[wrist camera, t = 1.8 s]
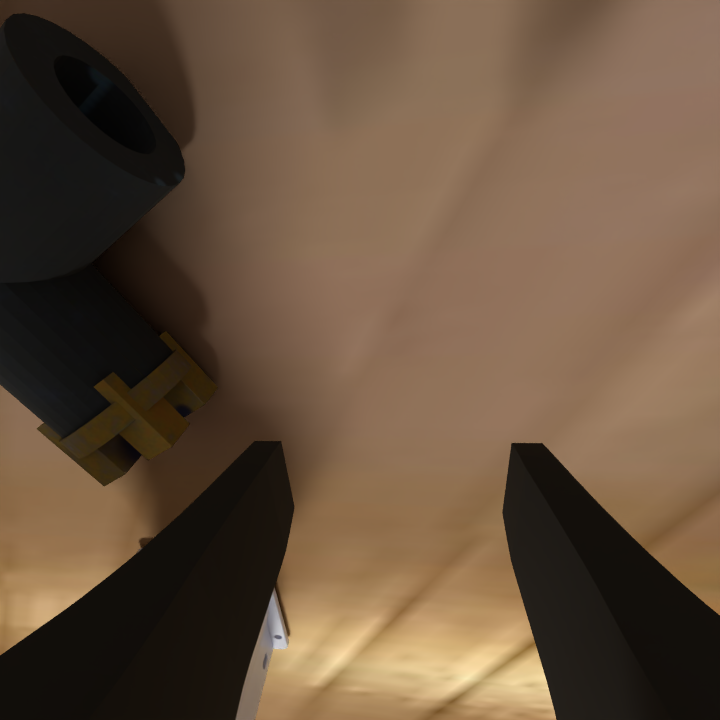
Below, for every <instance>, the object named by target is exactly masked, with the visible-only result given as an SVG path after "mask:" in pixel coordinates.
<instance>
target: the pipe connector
mask: <svg viewBox="0 0 720 720" xmlns="http://www.w3.org/2000/svg"><path fill="white" fill-rule="evenodd" d="M184 173H185V166H184V160H183V157H182V154H181V151H180V149H179V147H178V144H177V142H176V141H175V139H174V138H173V137H172V135H171V134H170V133H169V132H168V130H167V129H166V128H165V126H164V125H163V124H162V123H161V121H160V120H159V119H158V117H157V116H156V115H155V114H154V112H153V111H152V110H151V108H150V107H149V106H148V105H147V103H146V102H145V101H144V99H143V98H142V97H141V96H140V94H139V93H138V92H137V90H136V89H135V88H134V87H133V85H132V84H131V83H130V81H129V80H128V79H127V78H126V77H125V76H124V75H123V74H122V73H121V72H120V71H119V70H118V69H117V68H116V67H115V66H114V65H112V64H111V63H110V62H109V61H108V60H107V59H106V58H104V57H103V56H102V55H101V54H100V53H98V52H97V51H96V50H94V49H93V48H92V47H91V46H89V45H88V44H87V43H85V42H84V41H82V40H81V39H79V38H78V37H76V36H75V35H73V34H72V33H70V32H69V31H67V30H65V29H63V28H62V27H60V26H58V25H56V24H54V23H52V22H50V21H48V20H45V19H43V18H40V17H38V16H34V15H29V14H25V13H22V14H13V15H12V16H10V17H9V18H8V19H6V20H5V22H4V23H3V25H2V26H1V28H0V385H1V386H3V387H4V388H5V389H6V390H7V391H8V392H9V393H11V394H12V395H13V396H14V397H15V398H16V399H18V400H19V401H20V402H21V403H22V404H23V405H24V406H26V407H27V408H28V409H29V410H30V411H31V412H33V413H34V414H35V415H36V416H37V417H38V418H39V419H41V420H42V421H43V422H44V423H43V424H42V425H41V426H39V427H38V428H37V430H39V431H40V432H41V433H42V434H43V435H44V436H46V437H47V438H48V439H49V440H50V441H51V442H53V443H54V444H55V445H56V446H57V447H58V448H60V449H61V450H62V451H63V452H64V453H65V454H67V455H68V456H69V457H70V458H71V459H73V460H74V461H75V462H76V463H77V464H78V465H80V466H81V467H82V468H83V469H84V470H85V471H87V472H88V473H89V474H90V475H91V476H92V477H94V478H95V479H96V480H97V481H98V482H99V483H101V484H102V485H103V486H106V485H108V484H109V483H111V482H113V481H114V480H116V479H118V478H119V477H121V476H123V475H125V474H126V473H127V472H128V470H129V469H130V468H131V467H132V466H133V465H134V463H135V462H136V461H137V460H138V459H139V458H140V456H141V455H143V456H144V457H145V458H146V459H147V460H150V459H152V458H153V457H155V456H157V455H159V454H160V453H162V452H164V451H165V450H167V449H169V448H170V447H172V446H173V445H174V444H175V442H176V441H177V440H178V438H179V437H180V436H181V435H182V433H183V432H184V431H185V430H186V428H187V427H188V426H189V423H188V422H187V421H186V420H185V419H184V417H186V416H187V415H189V414H190V413H192V412H194V411H195V410H197V409H199V408H200V407H202V406H203V405H205V404H206V403H207V401H208V400H209V399H210V397H211V396H212V395H213V394H214V392H215V391H216V390H217V388H218V387H217V386H216V385H215V384H214V383H213V382H212V380H211V379H210V378H209V377H208V376H207V375H206V374H205V373H204V372H203V371H202V370H201V369H200V367H199V366H198V365H197V364H196V363H195V362H194V361H193V360H192V359H191V358H190V357H189V356H188V354H187V353H186V352H185V351H184V350H183V349H182V348H181V347H180V346H179V345H178V344H177V343H176V341H175V340H174V339H173V338H172V337H171V336H170V335H169V334H168V333H167V332H166V331H165V332H164V333H162V334H161V335H160V336H158V335H157V334H156V333H155V331H154V330H153V329H152V328H151V327H150V326H149V325H148V324H147V323H146V322H145V321H144V320H143V319H142V318H141V316H140V315H139V314H138V313H137V312H136V311H135V310H134V309H133V308H132V307H131V306H130V305H129V304H128V303H127V301H126V300H125V299H124V298H123V297H122V296H121V295H120V294H119V293H118V292H117V291H116V290H115V289H114V288H113V286H112V285H111V284H110V283H109V282H108V281H107V280H106V279H105V278H104V277H103V276H102V275H101V274H100V273H99V272H98V270H97V269H96V268H95V267H94V266H93V265H92V264H91V263H92V262H93V261H94V260H95V259H97V258H98V257H99V256H100V255H101V254H102V253H103V252H104V251H105V250H106V249H108V248H109V247H110V246H111V245H112V244H113V243H114V242H115V241H116V240H117V239H119V238H120V237H121V236H122V235H123V234H124V233H125V232H126V231H127V230H129V229H130V228H131V227H132V226H133V225H134V224H135V223H136V222H137V221H138V220H140V219H141V218H142V217H143V216H144V215H145V214H146V213H147V212H148V211H149V210H151V209H152V208H153V207H154V206H155V205H156V204H157V203H158V202H159V201H160V200H162V199H163V198H164V197H165V196H166V195H167V194H168V193H169V192H170V191H171V190H173V189H174V188H175V187H176V186H177V185H178V184H179V183H180V182H181V181H182V179H183V178H184Z"/></svg>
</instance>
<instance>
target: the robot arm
mask: <svg viewBox="0 0 720 720" xmlns="http://www.w3.org/2000/svg"><path fill="white" fill-rule="evenodd" d="M293 512H294V502H293V498H292V493H291V488H290V483H289V478H288V473H287V468H286V463H285V458H284V453H283V448H282V444H281V441H254V442H253V443H252V444H251V445H250V446H249V447H248V448H247V449H246V450H245V451H244V452H243V453H242V454H241V455H240V456H239V457H238V458H237V459H236V460H235V461H234V462H233V463H232V464H231V465H230V466H229V467H228V468H227V469H226V470H225V471H224V472H223V473H222V474H221V475H220V476H219V477H218V478H217V479H216V480H215V481H214V482H213V483H212V484H211V485H210V486H209V487H208V488H207V489H206V490H205V491H204V492H203V493H202V494H201V495H200V496H199V497H198V498H197V499H196V500H195V501H194V502H193V503H192V504H191V505H190V506H188V507H187V508H186V509H185V510H184V511H183V512H182V513H181V514H180V515H179V516H178V517H177V518H176V519H175V520H174V521H172V522H171V523H170V524H169V525H168V526H167V527H166V528H165V529H163V530H162V531H161V532H160V533H159V534H158V535H157V536H156V537H155V538H153V539H152V540H151V541H150V542H149V543H148V544H147V545H146V546H144V547H143V548H141V549H139V550H138V551H137V553H136V554H135V555H134V556H133V557H132V558H131V559H129V560H128V561H127V562H126V563H125V564H123V565H122V566H121V567H120V568H118V569H117V570H116V571H115V572H114V573H112V574H111V575H110V576H109V577H107V578H106V579H105V580H103V581H102V582H101V583H100V584H98V585H97V586H96V587H94V588H93V589H92V590H91V591H89V592H88V593H87V594H85V595H84V596H83V597H82V598H80V599H79V600H78V601H76V602H75V603H74V604H72V605H71V606H70V607H68V608H67V609H65V610H64V611H63V612H61V613H60V614H58V615H57V616H56V617H54V618H53V619H51V620H50V621H48V622H47V623H46V624H44V625H43V626H41V627H40V628H39V629H37V630H36V631H34V632H33V633H31V634H30V635H29V636H27V637H26V638H24V639H23V640H22V641H20V642H19V643H17V644H16V645H14V646H13V647H12V648H10V649H9V650H7V651H6V652H5V653H3V654H2V655H0V720H255V718H256V714H257V710H258V706H259V702H260V698H261V694H262V690H263V686H264V682H265V678H266V675H267V671H268V667H269V663H270V659H271V655H272V651H273V649H286V648H287V647H288V643H289V639H288V635H287V631H286V628H285V624H284V620H283V617H282V613H281V609H280V606H279V602H278V598H277V594H276V591H275V584H276V581H277V578H278V574H279V571H280V568H281V565H282V562H283V559H284V555H285V552H286V548H287V543H288V538H289V533H290V528H291V523H292V517H293ZM502 513H503V519H504V524H505V530H506V536H507V541H508V547H509V552H510V557H511V562H512V565H513V569H514V572H515V576H516V579H517V583H518V586H519V589H520V593H521V596H522V600H523V603H524V606H525V610H526V613H527V616H528V620H529V623H530V626H531V630H532V633H533V636H534V640H535V643H536V646H537V650H538V653H539V656H540V660H541V663H542V667H543V670H544V673H545V677H546V680H547V683H548V687H549V691H550V695H551V699H552V703H553V706H554V710H555V715H556V719H557V720H720V615H718V614H717V613H716V612H715V611H714V610H712V609H711V608H710V607H709V606H708V605H706V604H705V603H704V602H703V601H702V600H700V599H699V598H698V597H697V596H696V595H695V594H693V593H692V592H691V591H690V590H689V589H688V588H687V587H685V586H684V585H683V584H682V583H681V582H680V581H679V580H678V579H676V578H675V577H674V576H673V575H672V574H671V573H670V572H669V571H668V570H667V569H666V568H665V567H663V566H662V565H661V564H660V563H659V562H658V561H657V560H656V559H655V558H654V557H653V556H651V555H650V554H649V553H648V552H647V551H646V550H645V549H644V548H643V547H642V546H641V545H640V544H639V543H638V542H637V541H636V540H635V539H634V538H633V537H632V536H631V535H630V534H629V533H628V532H627V531H626V530H625V529H624V528H623V527H622V526H621V525H620V524H619V523H618V522H617V521H616V520H615V519H614V518H613V517H612V516H611V515H610V514H609V513H608V512H607V511H606V510H605V509H604V508H603V507H602V506H601V505H600V504H599V503H598V502H597V501H596V500H595V499H594V498H593V497H592V496H591V495H590V494H589V493H588V492H587V491H586V490H585V489H584V487H583V486H582V485H581V484H580V483H579V482H578V481H577V480H576V479H575V478H574V477H573V476H572V475H571V474H570V472H569V471H568V470H567V469H566V468H565V467H564V466H563V465H562V464H561V463H560V462H559V460H558V459H557V458H556V457H555V456H554V455H553V454H552V453H551V452H550V451H549V450H548V449H547V448H546V447H545V446H544V445H543V444H542V443H512V444H511V452H510V459H509V467H508V474H507V482H506V490H505V497H504V505H503V512H502Z"/></svg>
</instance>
